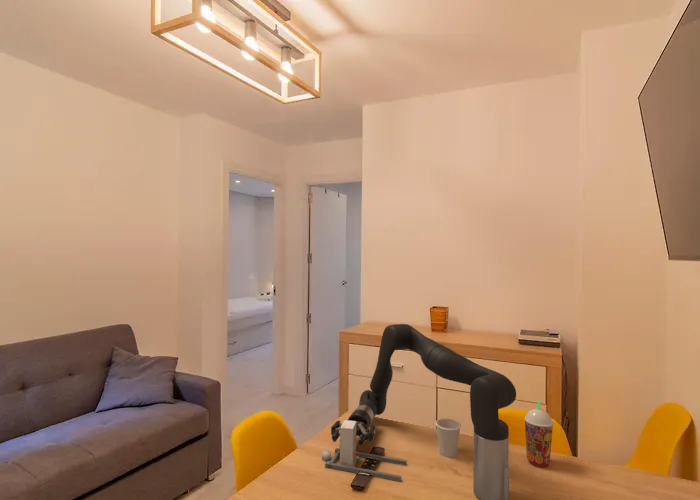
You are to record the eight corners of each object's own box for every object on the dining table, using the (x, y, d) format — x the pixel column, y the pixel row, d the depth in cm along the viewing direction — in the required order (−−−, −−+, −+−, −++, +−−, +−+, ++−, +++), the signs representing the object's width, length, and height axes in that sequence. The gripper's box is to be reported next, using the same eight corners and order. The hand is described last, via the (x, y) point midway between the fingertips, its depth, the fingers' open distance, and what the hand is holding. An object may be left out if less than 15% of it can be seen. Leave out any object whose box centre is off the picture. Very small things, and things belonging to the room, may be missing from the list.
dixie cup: (460, 448, 137) (460, 419, 137) (461, 461, 129) (461, 430, 129) (435, 445, 139) (435, 416, 139) (434, 457, 131) (434, 427, 131)
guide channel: (406, 463, 127) (406, 457, 127) (400, 481, 118) (400, 474, 118) (327, 450, 136) (327, 444, 136) (316, 465, 126) (316, 459, 126)
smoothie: (518, 459, 130) (518, 398, 130) (536, 453, 134) (537, 394, 134) (540, 472, 123) (540, 407, 122) (558, 466, 126) (559, 403, 126)
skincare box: (352, 467, 125) (352, 429, 125) (339, 465, 126) (339, 427, 126) (356, 457, 131) (356, 420, 131) (343, 455, 132) (344, 419, 131)
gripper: (342, 406, 144) (325, 425, 129) (380, 411, 140) (368, 432, 124) (342, 427, 144) (325, 449, 129) (380, 433, 140) (368, 456, 125)
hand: (346, 440), depth 127 cm, fingers open, 8 cm apart
